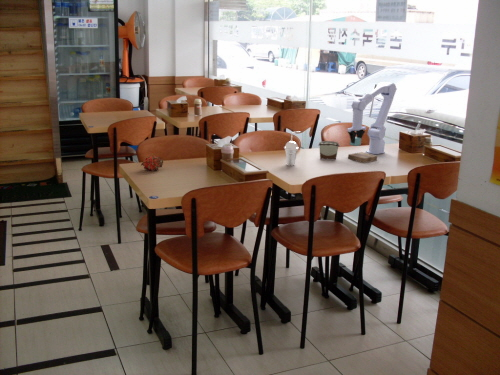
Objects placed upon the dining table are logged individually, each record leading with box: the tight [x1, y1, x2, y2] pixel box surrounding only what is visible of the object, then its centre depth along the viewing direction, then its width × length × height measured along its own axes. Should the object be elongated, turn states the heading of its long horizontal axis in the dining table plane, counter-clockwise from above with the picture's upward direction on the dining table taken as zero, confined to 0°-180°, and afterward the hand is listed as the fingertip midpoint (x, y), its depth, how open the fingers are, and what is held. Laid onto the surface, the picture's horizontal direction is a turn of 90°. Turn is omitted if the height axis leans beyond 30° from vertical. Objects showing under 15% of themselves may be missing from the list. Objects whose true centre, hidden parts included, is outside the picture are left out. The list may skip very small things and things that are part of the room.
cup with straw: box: [283, 130, 302, 166], centre depth 303 cm, size 8×9×20 cm
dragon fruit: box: [140, 155, 164, 172], centre depth 288 cm, size 8×8×12 cm
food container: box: [318, 140, 340, 161], centre depth 323 cm, size 12×6×10 cm, turn 84°
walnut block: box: [347, 151, 378, 164], centre depth 323 cm, size 12×12×3 cm
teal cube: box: [349, 136, 362, 147], centre depth 329 cm, size 4×4×4 cm
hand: (355, 142), depth 329 cm, fingers closed on teal cube, 4 cm apart
